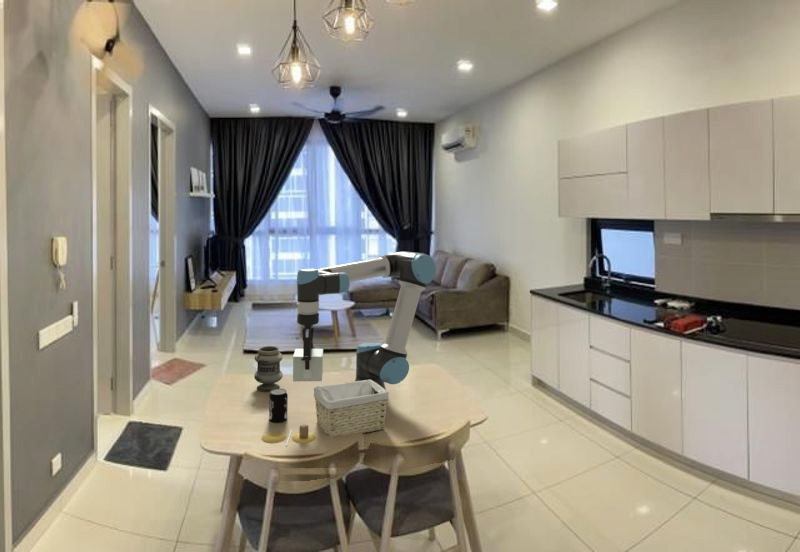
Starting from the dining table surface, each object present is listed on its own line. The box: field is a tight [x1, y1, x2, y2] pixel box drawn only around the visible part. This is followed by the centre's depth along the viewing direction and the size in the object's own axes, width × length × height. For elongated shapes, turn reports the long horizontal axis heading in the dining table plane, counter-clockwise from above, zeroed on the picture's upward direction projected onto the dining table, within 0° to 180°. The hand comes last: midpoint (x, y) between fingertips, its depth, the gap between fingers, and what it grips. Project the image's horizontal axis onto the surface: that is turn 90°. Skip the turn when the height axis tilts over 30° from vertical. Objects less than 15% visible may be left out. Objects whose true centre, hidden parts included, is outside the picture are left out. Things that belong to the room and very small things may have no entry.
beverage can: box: [268, 388, 289, 424], centre depth 180 cm, size 7×7×12 cm
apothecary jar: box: [253, 345, 284, 393], centre depth 215 cm, size 12×12×18 cm
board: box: [261, 424, 316, 447], centre depth 167 cm, size 18×13×5 cm
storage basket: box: [313, 379, 389, 438], centre depth 179 cm, size 24×16×15 cm
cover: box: [292, 348, 324, 382], centre depth 177 cm, size 10×10×9 cm
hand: (308, 372), depth 177 cm, fingers closed on cover, 10 cm apart
